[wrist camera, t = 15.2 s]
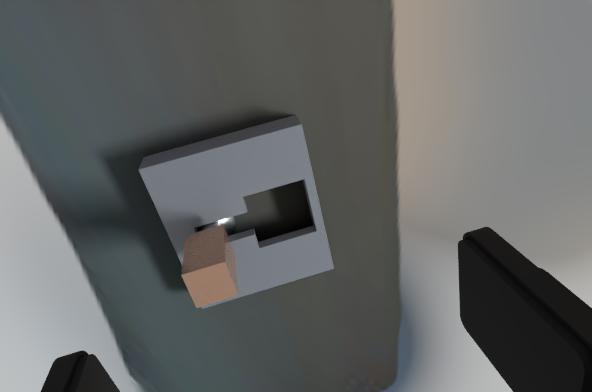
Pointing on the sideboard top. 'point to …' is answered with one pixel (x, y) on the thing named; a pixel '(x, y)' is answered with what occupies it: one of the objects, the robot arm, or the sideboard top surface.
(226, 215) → the keyhole board
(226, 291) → the keyhole peg
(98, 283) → the sideboard top surface
